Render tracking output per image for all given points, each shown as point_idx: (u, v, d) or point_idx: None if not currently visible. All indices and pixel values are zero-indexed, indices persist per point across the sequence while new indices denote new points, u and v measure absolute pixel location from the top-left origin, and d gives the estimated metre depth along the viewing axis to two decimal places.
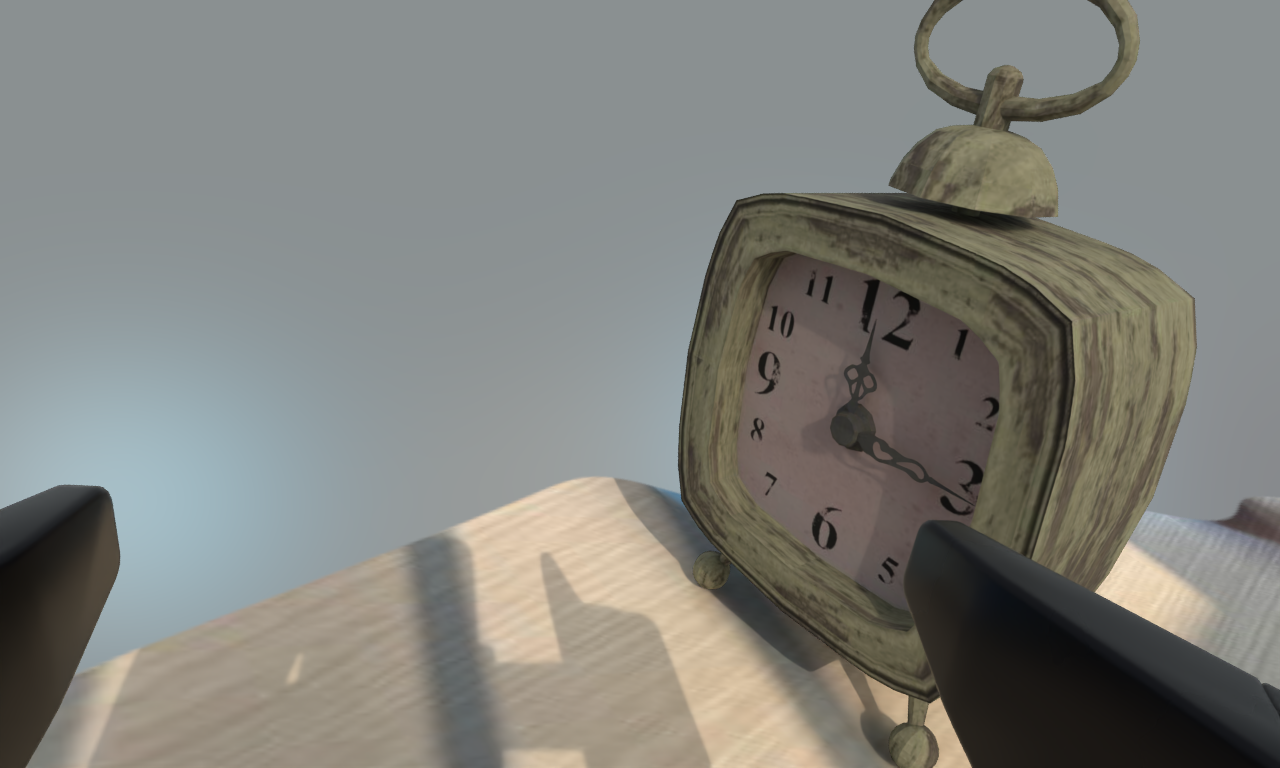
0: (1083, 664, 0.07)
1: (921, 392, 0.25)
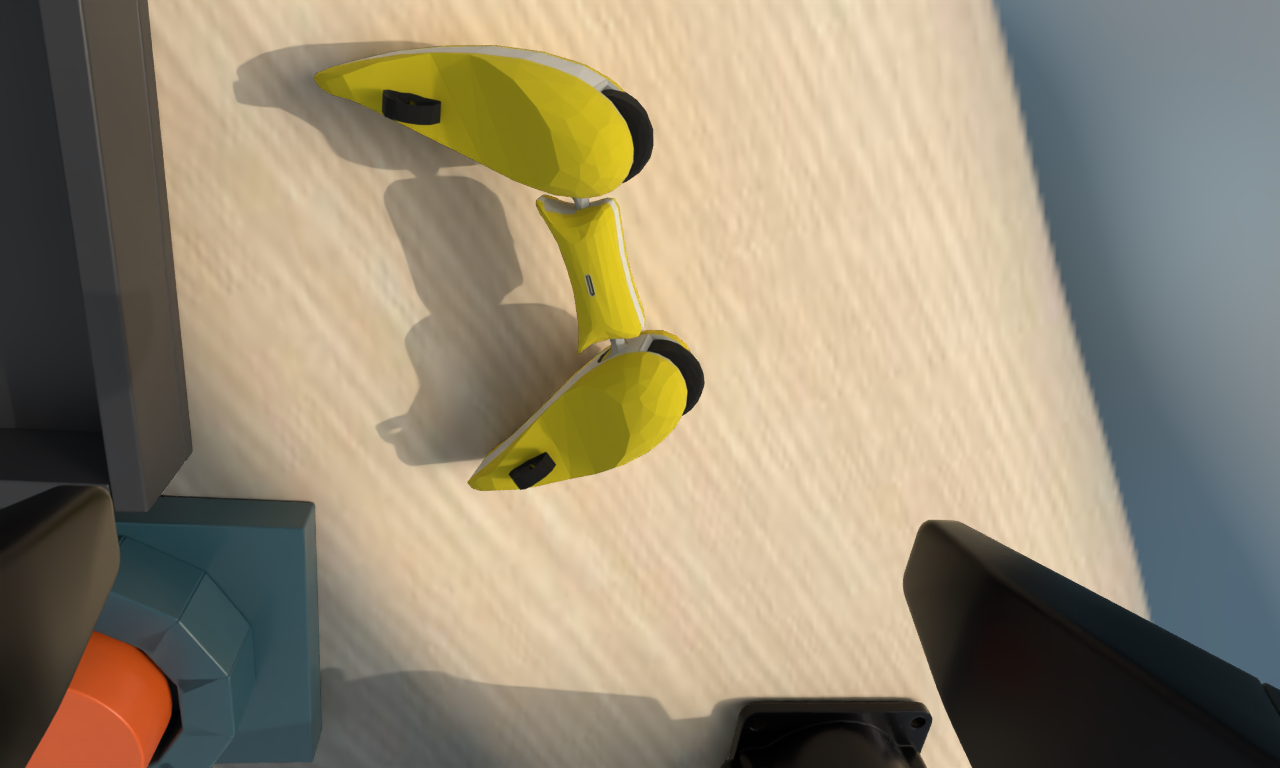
0: (1083, 664, 0.07)
1: None
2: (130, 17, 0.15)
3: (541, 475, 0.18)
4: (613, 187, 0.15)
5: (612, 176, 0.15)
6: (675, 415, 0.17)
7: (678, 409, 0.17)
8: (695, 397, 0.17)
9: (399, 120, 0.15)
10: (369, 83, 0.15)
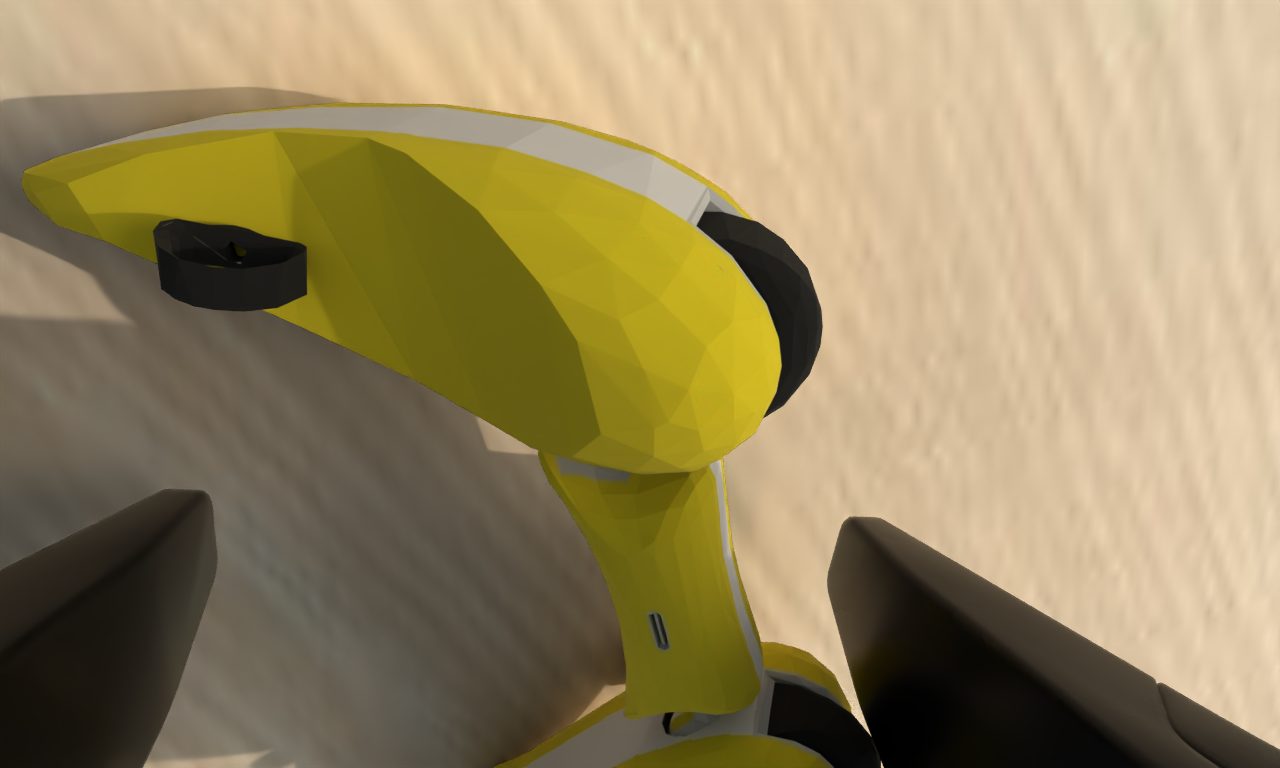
0: (981, 663, 0.07)
1: None
2: None
3: None
4: None
5: (732, 442, 0.06)
6: None
7: None
8: None
9: (194, 302, 0.06)
10: (130, 202, 0.06)
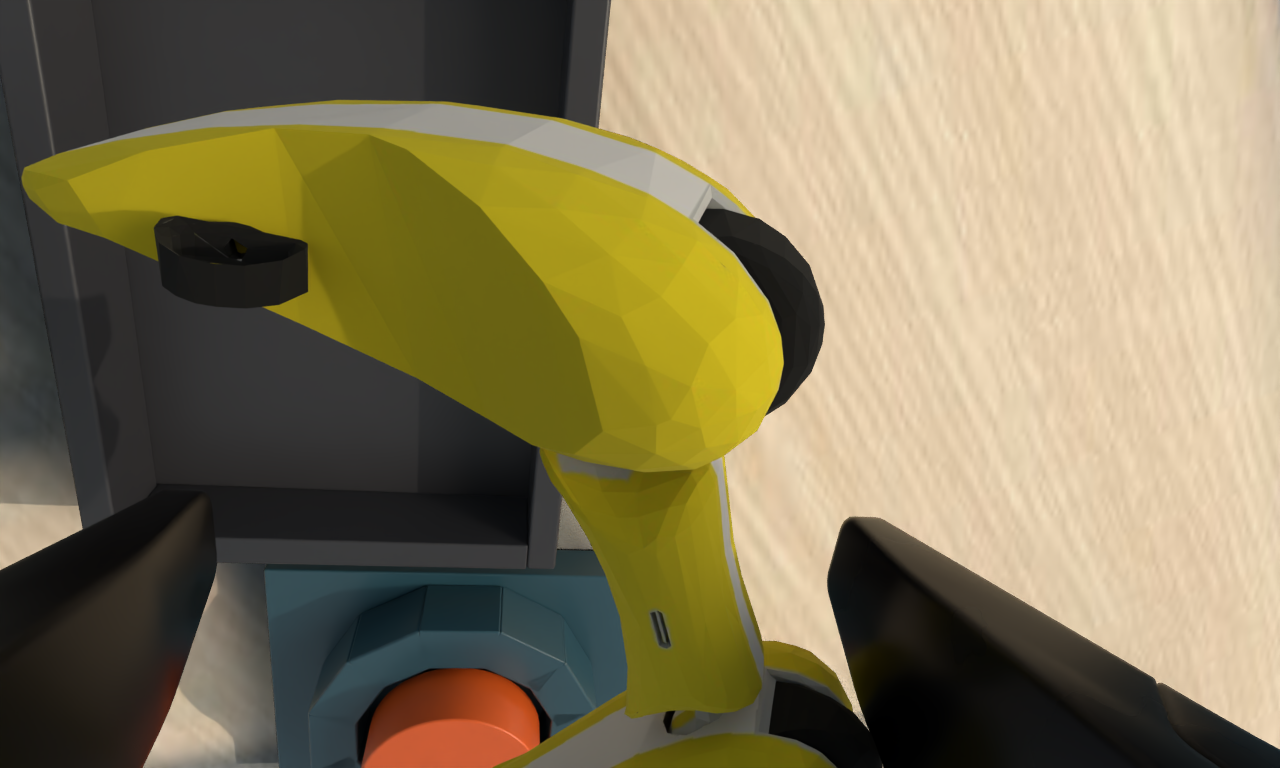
0: (981, 663, 0.07)
1: None
2: None
3: None
4: (729, 450, 0.06)
5: (735, 439, 0.06)
6: None
7: None
8: None
9: (195, 299, 0.06)
10: (132, 199, 0.06)
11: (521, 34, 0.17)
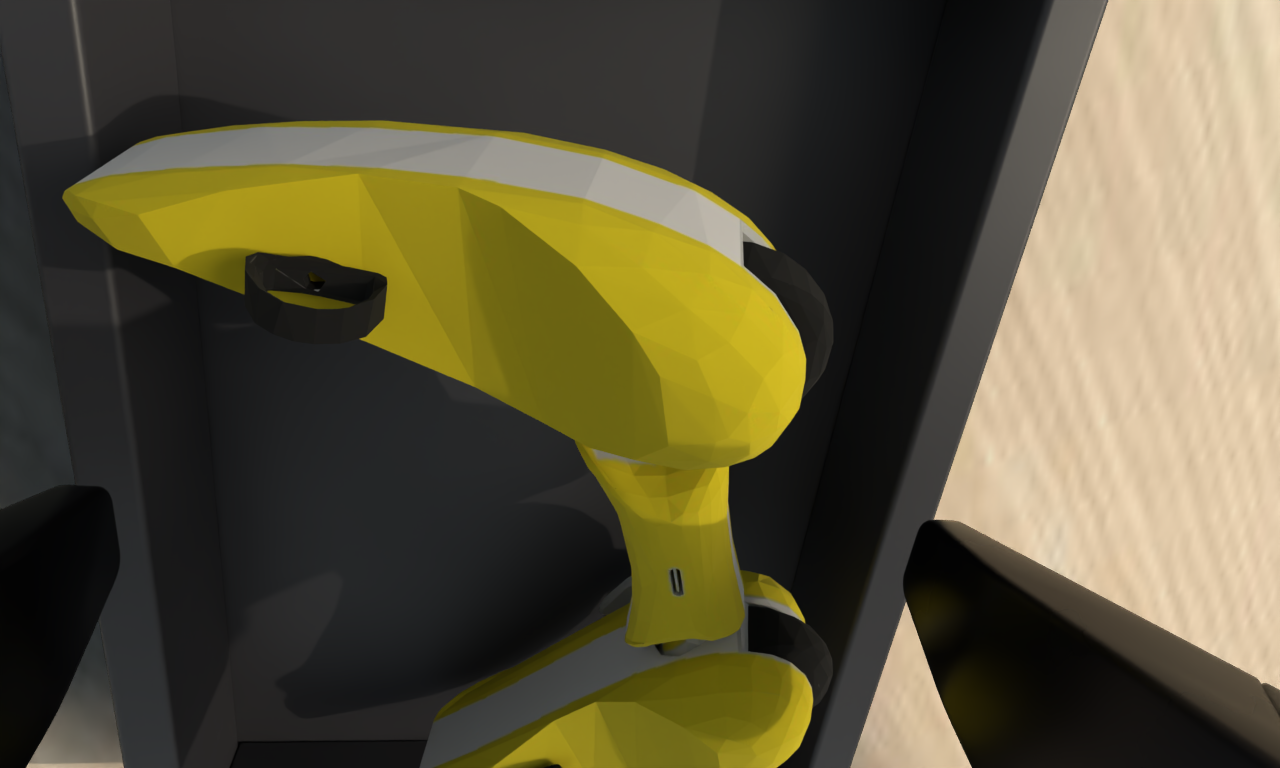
0: (1083, 664, 0.07)
1: None
2: None
3: None
4: None
5: (769, 445, 0.07)
6: None
7: (802, 737, 0.10)
8: None
9: (292, 337, 0.06)
10: (206, 233, 0.06)
11: (850, 112, 0.11)
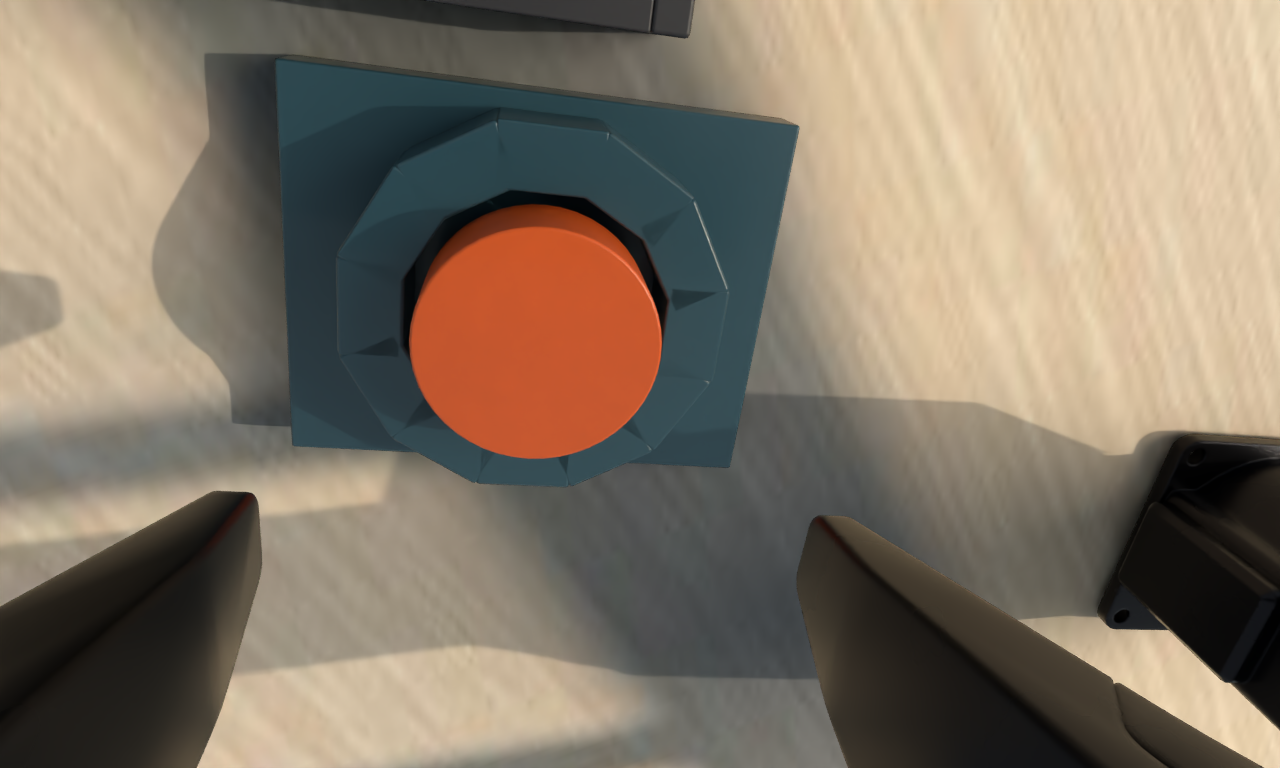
0: (939, 663, 0.07)
1: None
2: None
3: None
4: None
5: None
6: None
7: None
8: None
9: None
10: None
11: None
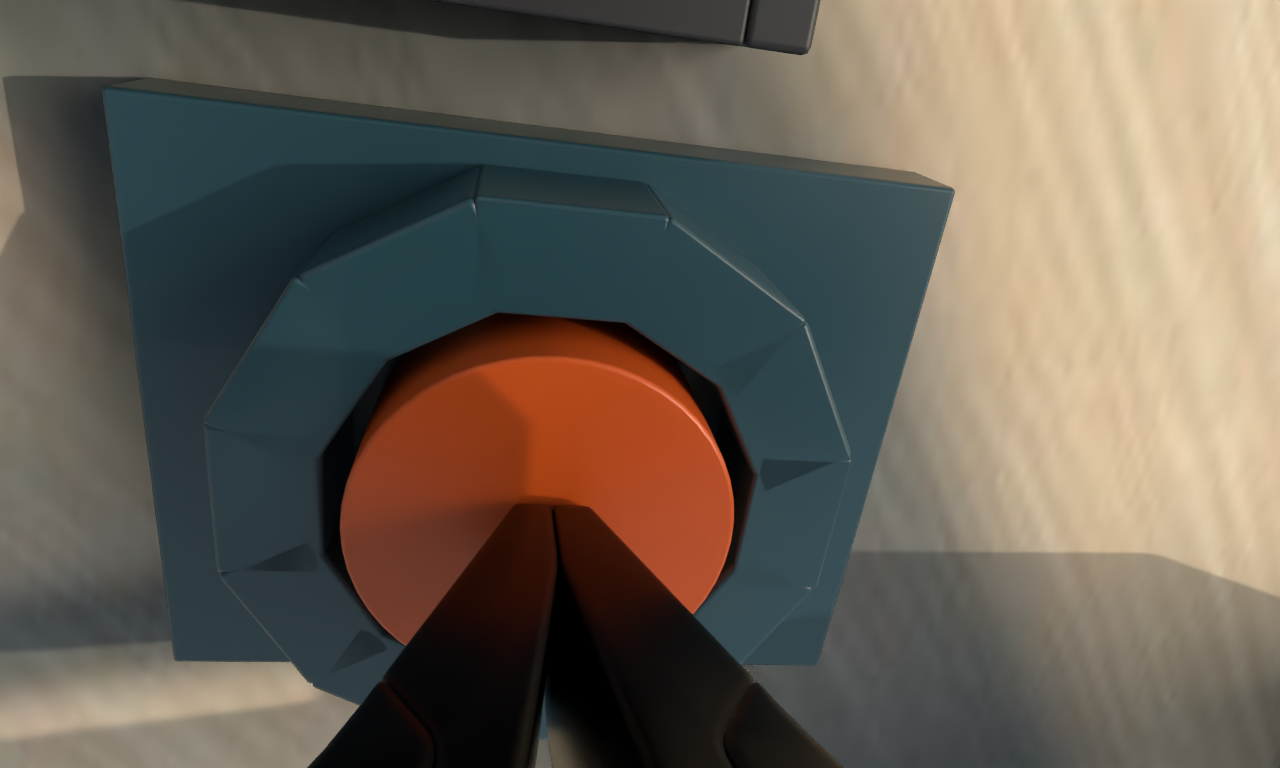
0: (588, 661, 0.06)
1: None
2: None
3: None
4: None
5: None
6: None
7: None
8: None
9: None
10: None
11: None
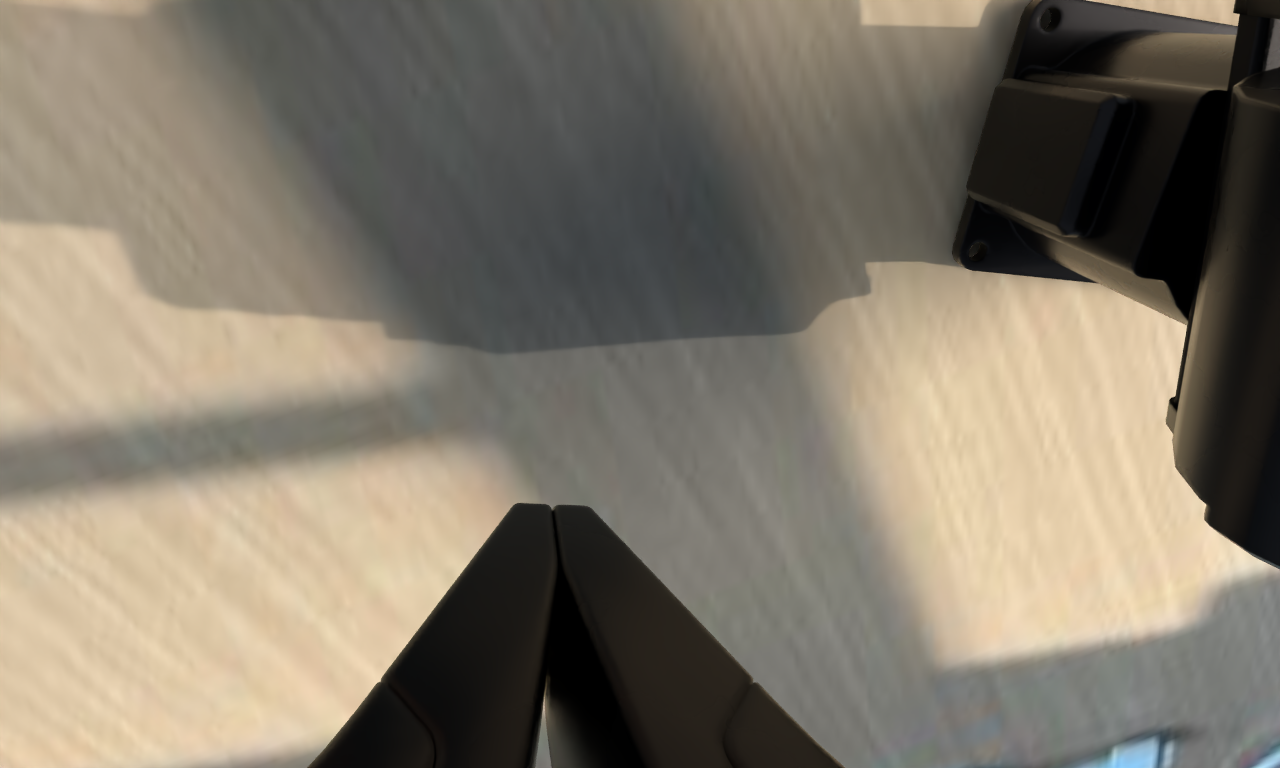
0: (589, 661, 0.06)
1: None
2: None
3: None
4: None
5: None
6: None
7: None
8: None
9: None
10: None
11: None
